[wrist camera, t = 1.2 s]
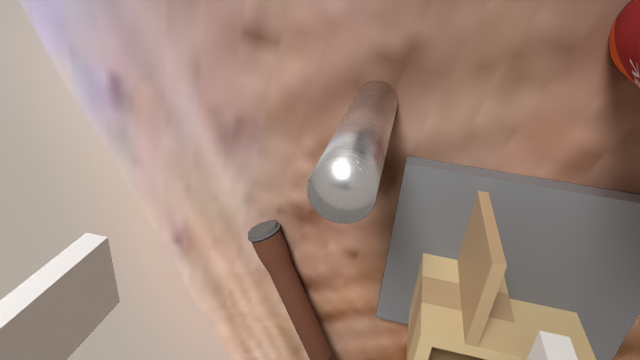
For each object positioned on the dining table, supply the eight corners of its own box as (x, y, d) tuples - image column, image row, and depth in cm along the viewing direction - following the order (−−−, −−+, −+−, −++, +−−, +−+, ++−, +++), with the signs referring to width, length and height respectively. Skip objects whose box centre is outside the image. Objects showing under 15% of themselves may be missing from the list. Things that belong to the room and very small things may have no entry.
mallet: (287, 233, 36) (398, 482, 44) (297, 204, 41) (394, 430, 50) (222, 253, 37) (342, 493, 45) (240, 223, 42) (344, 441, 51)
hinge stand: (406, 155, 34) (397, 226, 25) (686, 202, 31) (793, 303, 22) (377, 306, 42) (362, 402, 32) (600, 356, 38) (653, 479, 29)
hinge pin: (358, 77, 32) (309, 156, 19) (401, 83, 32) (380, 168, 19) (353, 118, 34) (304, 216, 21) (394, 124, 33) (370, 229, 20)
